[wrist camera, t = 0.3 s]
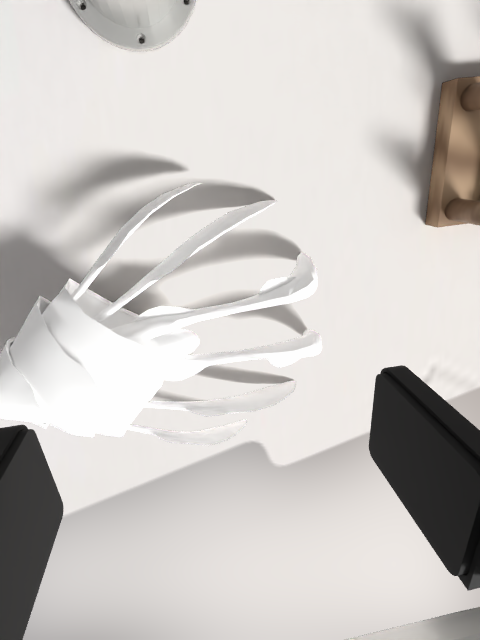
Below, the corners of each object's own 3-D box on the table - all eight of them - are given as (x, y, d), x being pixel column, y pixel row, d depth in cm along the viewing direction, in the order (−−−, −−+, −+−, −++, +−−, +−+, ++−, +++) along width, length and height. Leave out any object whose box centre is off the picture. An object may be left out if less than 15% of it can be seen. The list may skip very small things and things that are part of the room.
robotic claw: (280, 165, 45) (-79, 230, 36) (337, 160, 34) (-167, 254, 24) (301, 382, 59) (47, 470, 50) (346, 430, 48) (29, 556, 38)
